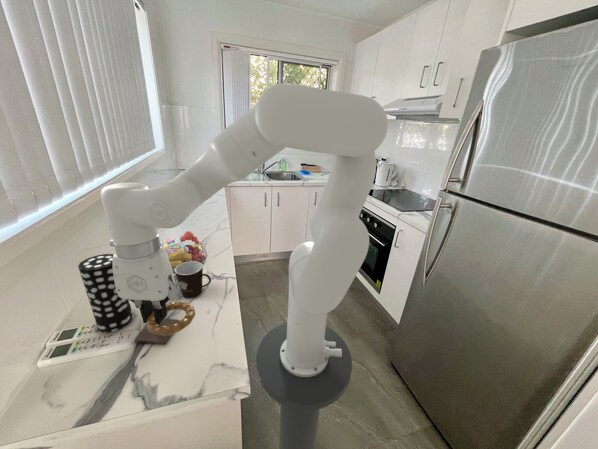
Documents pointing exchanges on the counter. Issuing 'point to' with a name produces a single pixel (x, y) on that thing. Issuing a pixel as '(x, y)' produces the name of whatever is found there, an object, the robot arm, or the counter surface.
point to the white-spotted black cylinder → (104, 293)
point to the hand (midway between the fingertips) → (155, 318)
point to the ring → (173, 328)
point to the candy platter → (182, 250)
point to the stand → (150, 338)
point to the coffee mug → (190, 278)
